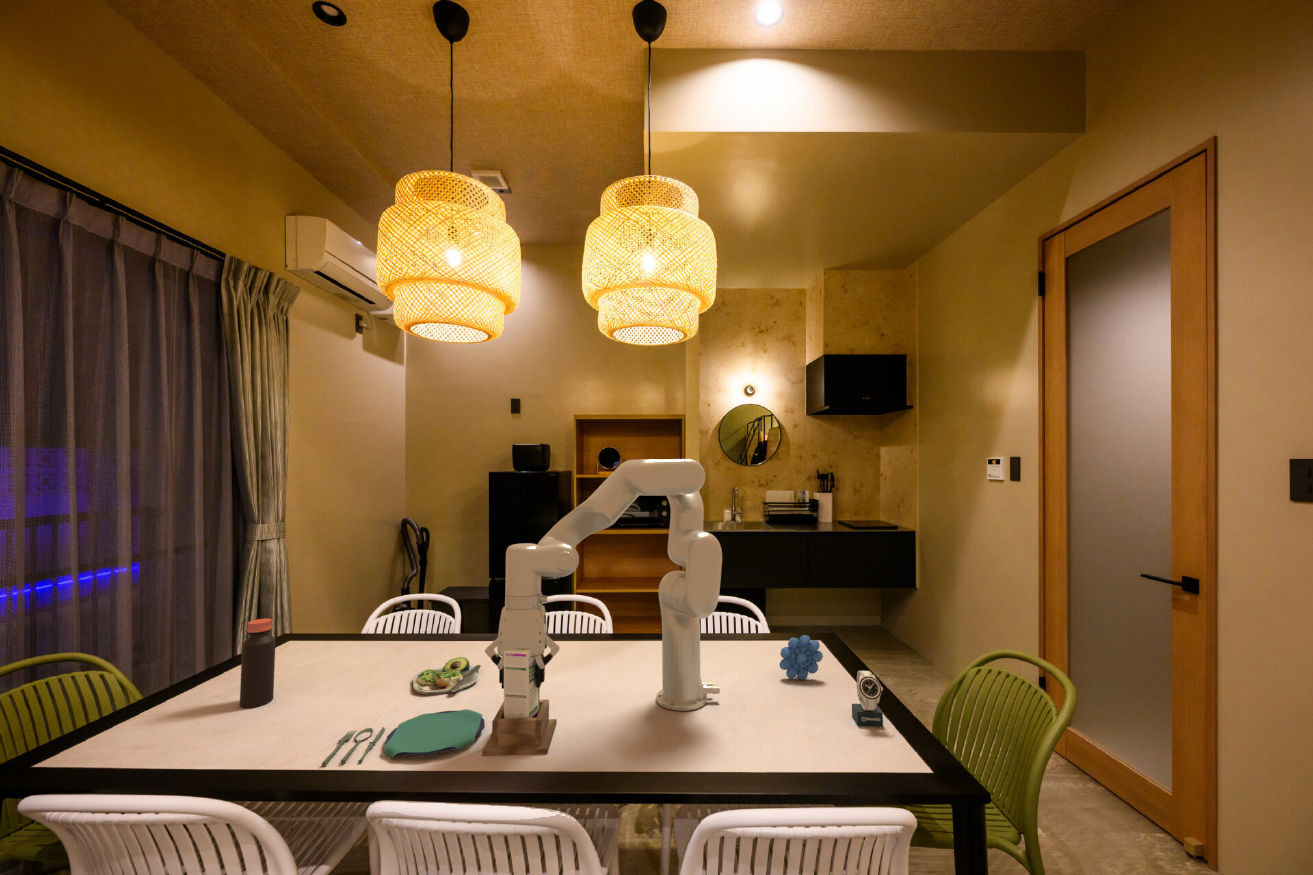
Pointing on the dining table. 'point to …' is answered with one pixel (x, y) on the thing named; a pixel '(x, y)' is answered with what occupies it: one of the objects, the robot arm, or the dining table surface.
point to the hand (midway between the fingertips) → (522, 685)
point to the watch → (867, 701)
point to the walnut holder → (521, 733)
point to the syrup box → (520, 684)
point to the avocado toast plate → (447, 677)
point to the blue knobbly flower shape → (800, 657)
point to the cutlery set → (423, 735)
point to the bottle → (257, 665)
